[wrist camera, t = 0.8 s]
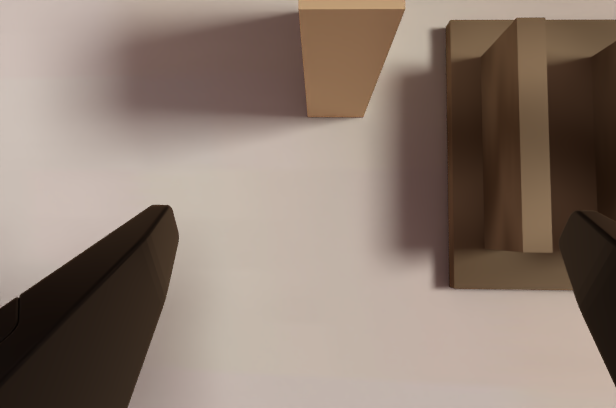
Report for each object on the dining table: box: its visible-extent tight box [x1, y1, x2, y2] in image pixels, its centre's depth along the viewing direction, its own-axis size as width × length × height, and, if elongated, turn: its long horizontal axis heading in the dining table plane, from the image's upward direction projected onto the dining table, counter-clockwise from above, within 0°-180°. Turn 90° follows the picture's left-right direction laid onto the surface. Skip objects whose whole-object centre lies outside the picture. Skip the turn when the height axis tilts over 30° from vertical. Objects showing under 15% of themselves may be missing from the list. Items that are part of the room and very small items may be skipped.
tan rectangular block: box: [298, 0, 405, 117], centre depth 18 cm, size 6×3×11 cm, turn 179°
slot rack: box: [446, 18, 616, 290], centre depth 20 cm, size 14×10×5 cm
